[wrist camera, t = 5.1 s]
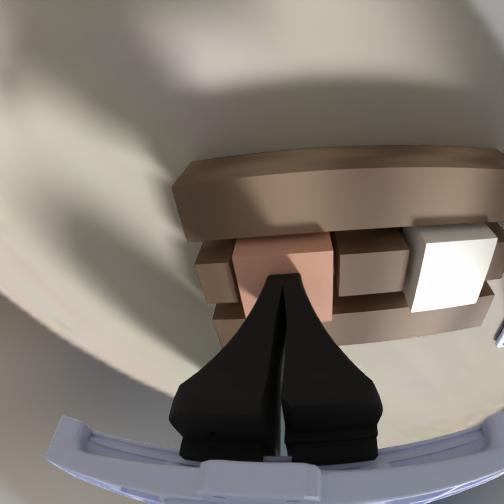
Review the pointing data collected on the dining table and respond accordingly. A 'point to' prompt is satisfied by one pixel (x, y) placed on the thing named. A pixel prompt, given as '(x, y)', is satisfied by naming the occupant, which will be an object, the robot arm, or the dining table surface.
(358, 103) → the dining table surface
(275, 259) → the terracotta key
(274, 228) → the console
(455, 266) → the cream key
